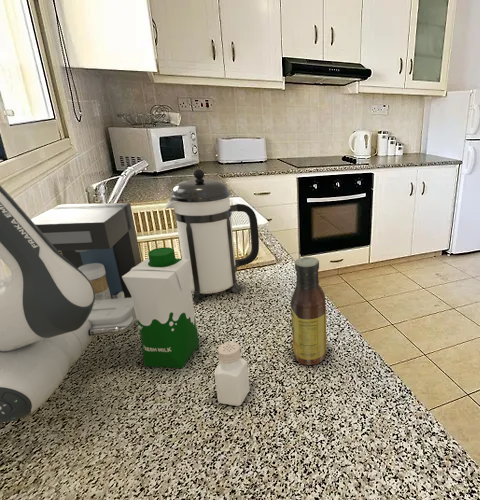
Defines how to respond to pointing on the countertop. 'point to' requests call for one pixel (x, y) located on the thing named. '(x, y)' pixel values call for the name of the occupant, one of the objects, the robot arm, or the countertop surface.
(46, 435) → the countertop surface
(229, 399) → the salt shaker
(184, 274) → the milk carton
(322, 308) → the sauce bottle
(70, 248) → the coffee maker
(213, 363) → the countertop surface
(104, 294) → the sprinkles bottle
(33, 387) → the robot arm
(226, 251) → the coffee press
